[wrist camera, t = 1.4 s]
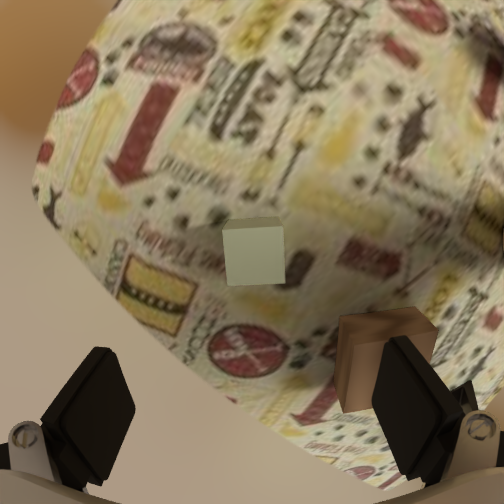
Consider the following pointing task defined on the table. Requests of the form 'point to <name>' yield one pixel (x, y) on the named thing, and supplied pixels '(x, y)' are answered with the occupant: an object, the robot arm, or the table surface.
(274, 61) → the table surface
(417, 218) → the table surface
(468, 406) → the phone stand
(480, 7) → the table surface
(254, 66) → the table surface
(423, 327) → the walnut block
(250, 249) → the sage block
